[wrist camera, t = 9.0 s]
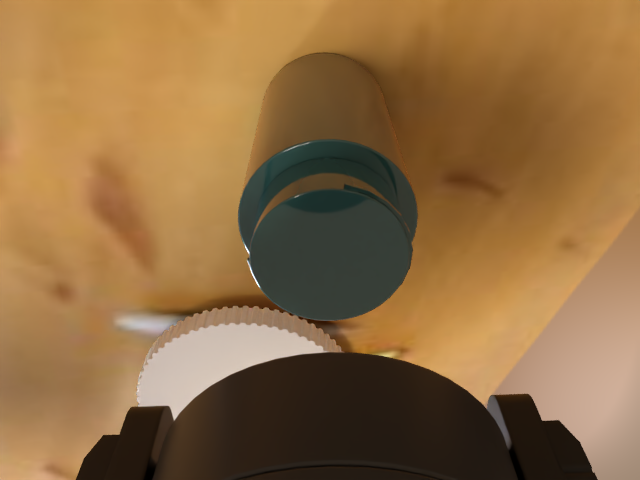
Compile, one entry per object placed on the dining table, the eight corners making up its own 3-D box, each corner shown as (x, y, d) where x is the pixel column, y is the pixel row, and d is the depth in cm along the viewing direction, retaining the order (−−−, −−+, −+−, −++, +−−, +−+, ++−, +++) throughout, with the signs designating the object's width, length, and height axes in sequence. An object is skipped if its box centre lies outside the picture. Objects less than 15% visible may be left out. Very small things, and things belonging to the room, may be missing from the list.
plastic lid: (294, 263, 33) (292, 289, 31) (385, 406, 40) (389, 436, 38) (102, 342, 36) (89, 371, 34) (217, 462, 43) (212, 492, 41)
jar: (360, 184, 30) (386, 351, 20) (248, 153, 29) (211, 311, 19) (404, 74, 27) (462, 202, 16) (280, 35, 26) (256, 144, 15)
